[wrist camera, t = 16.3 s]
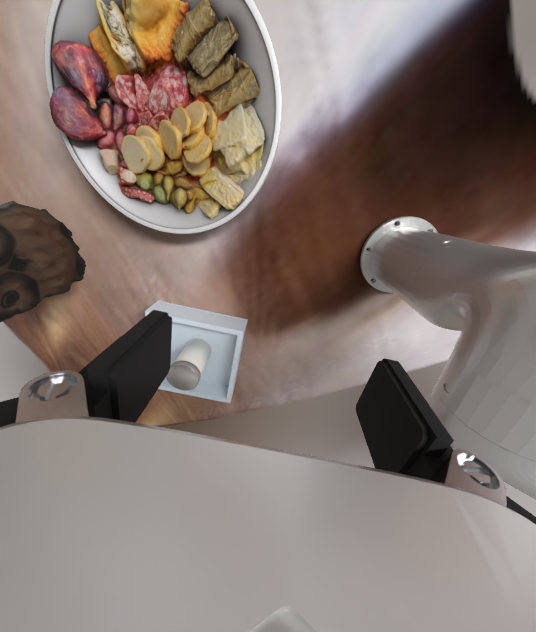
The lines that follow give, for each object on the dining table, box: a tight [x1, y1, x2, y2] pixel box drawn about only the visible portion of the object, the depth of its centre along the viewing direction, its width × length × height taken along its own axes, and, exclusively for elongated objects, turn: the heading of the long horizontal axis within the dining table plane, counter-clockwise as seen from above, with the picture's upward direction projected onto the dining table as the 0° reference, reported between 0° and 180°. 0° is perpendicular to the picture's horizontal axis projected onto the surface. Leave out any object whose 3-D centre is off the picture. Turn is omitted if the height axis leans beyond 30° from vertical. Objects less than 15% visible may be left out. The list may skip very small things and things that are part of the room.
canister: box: [166, 338, 211, 391], centre depth 47 cm, size 6×6×9 cm
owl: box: [0, 201, 86, 322], centre depth 36 cm, size 13×13×20 cm
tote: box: [145, 300, 248, 403], centre depth 50 cm, size 18×18×5 cm
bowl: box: [45, 0, 282, 234], centre depth 32 cm, size 30×30×8 cm
